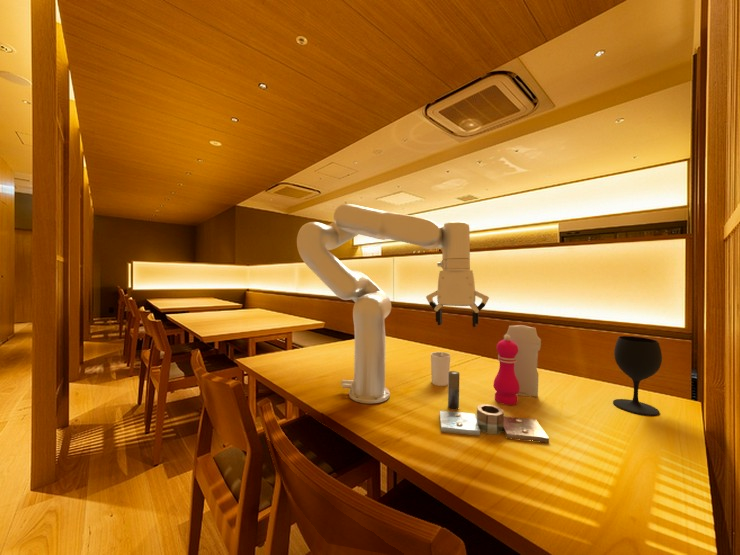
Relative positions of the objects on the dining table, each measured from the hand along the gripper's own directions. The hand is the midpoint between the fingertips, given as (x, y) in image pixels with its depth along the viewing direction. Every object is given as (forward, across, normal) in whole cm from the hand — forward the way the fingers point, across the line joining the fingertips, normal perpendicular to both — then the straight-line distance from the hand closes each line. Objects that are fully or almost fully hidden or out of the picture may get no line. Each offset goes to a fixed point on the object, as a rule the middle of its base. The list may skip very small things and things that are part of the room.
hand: (456, 325), depth 89 cm
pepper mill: (+24, +13, +10) cm, 29 cm away
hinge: (+24, +9, -9) cm, 27 cm away
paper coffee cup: (+24, -8, +17) cm, 30 cm away
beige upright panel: (+24, +17, +19) cm, 35 cm away
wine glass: (+25, +47, +22) cm, 58 cm away
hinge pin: (+23, -1, -1) cm, 23 cm away
